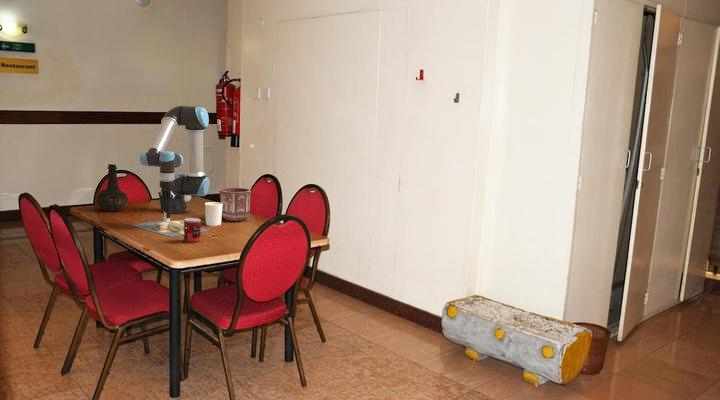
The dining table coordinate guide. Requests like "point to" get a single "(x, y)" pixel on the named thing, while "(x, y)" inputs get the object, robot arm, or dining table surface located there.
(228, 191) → the pottery
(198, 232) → the canned food
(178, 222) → the t block
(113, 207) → the dark mottled flask
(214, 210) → the candle holder
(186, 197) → the teacup
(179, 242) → the dining table surface
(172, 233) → the push mat
